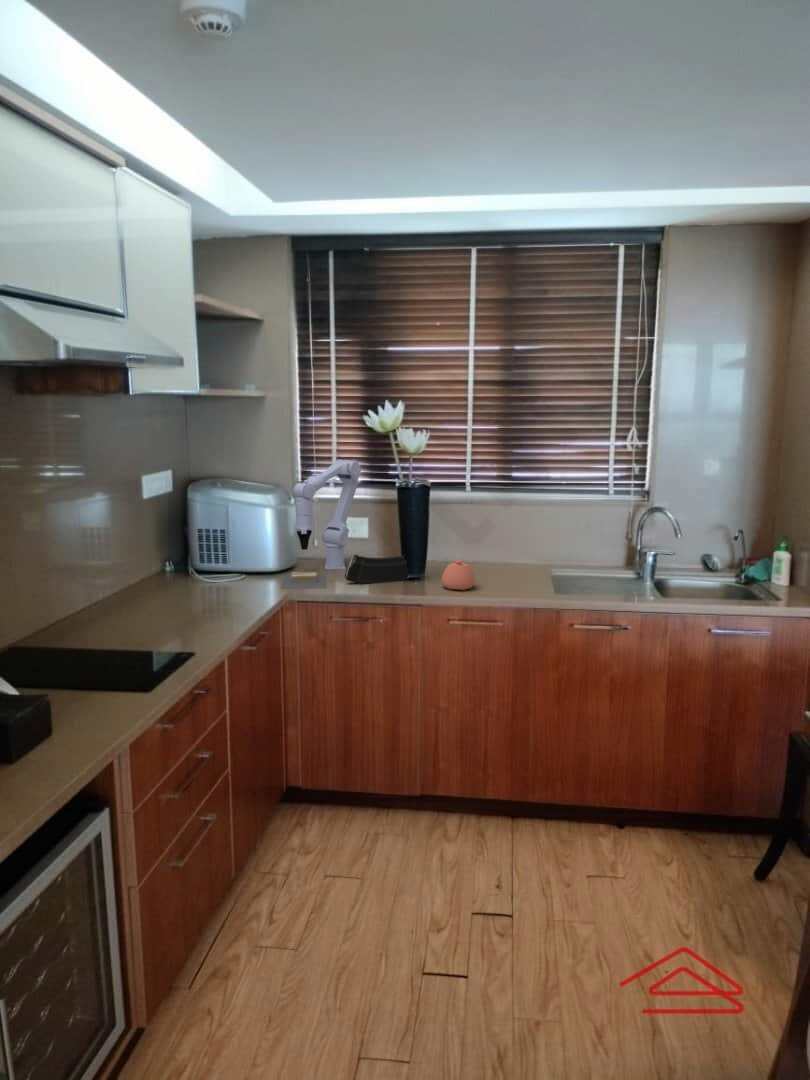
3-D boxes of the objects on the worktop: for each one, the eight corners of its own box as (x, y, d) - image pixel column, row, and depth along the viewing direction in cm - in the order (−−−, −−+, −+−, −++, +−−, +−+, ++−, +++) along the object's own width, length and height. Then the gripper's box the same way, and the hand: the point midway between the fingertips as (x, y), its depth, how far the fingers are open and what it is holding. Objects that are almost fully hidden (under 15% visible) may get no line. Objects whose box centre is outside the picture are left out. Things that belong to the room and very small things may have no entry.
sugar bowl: (437, 590, 267) (437, 562, 265) (447, 582, 280) (448, 555, 278) (470, 593, 263) (471, 565, 261) (479, 584, 276) (480, 557, 274)
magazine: (424, 553, 287) (355, 536, 273) (428, 555, 284) (358, 537, 270) (412, 596, 288) (342, 581, 274) (415, 598, 285) (345, 583, 271)
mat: (283, 575, 286) (283, 575, 286) (325, 575, 288) (325, 574, 288) (281, 589, 265) (281, 588, 265) (326, 588, 267) (326, 588, 267)
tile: (292, 572, 280) (291, 576, 273) (316, 571, 281) (316, 575, 274) (292, 578, 281) (291, 582, 274) (316, 578, 282) (316, 582, 275)
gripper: (294, 511, 292) (294, 546, 294) (292, 517, 278) (293, 553, 280) (312, 511, 293) (312, 545, 295) (311, 517, 279) (312, 552, 281)
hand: (304, 549), depth 288 cm, fingers closed
